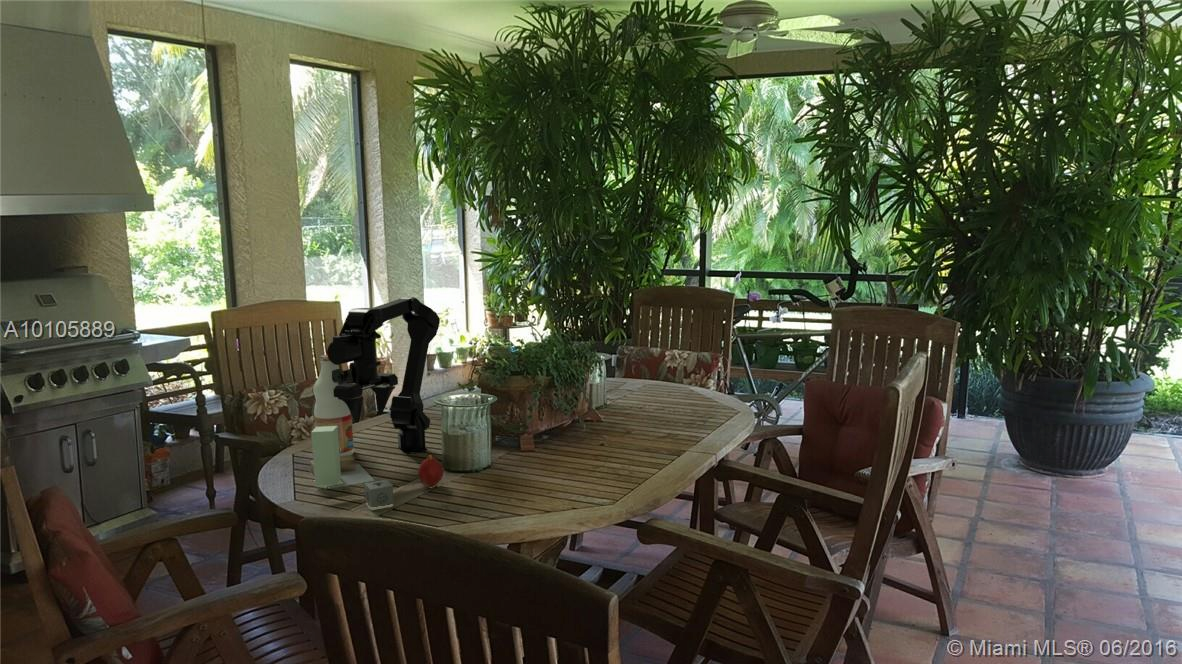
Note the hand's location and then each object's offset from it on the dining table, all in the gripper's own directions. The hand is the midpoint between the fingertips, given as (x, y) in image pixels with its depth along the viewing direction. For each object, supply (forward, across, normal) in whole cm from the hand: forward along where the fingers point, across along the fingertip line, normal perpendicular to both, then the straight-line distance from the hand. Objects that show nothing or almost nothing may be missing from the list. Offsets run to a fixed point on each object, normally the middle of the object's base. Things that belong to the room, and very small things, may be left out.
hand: (368, 418), depth 211 cm
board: (+13, +12, 0) cm, 18 cm away
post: (+12, +16, 0) cm, 20 cm away
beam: (+12, +9, -4) cm, 16 cm away
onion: (+13, +8, +24) cm, 28 cm away
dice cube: (+13, +23, +20) cm, 33 cm away
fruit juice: (+13, -4, -15) cm, 20 cm away
